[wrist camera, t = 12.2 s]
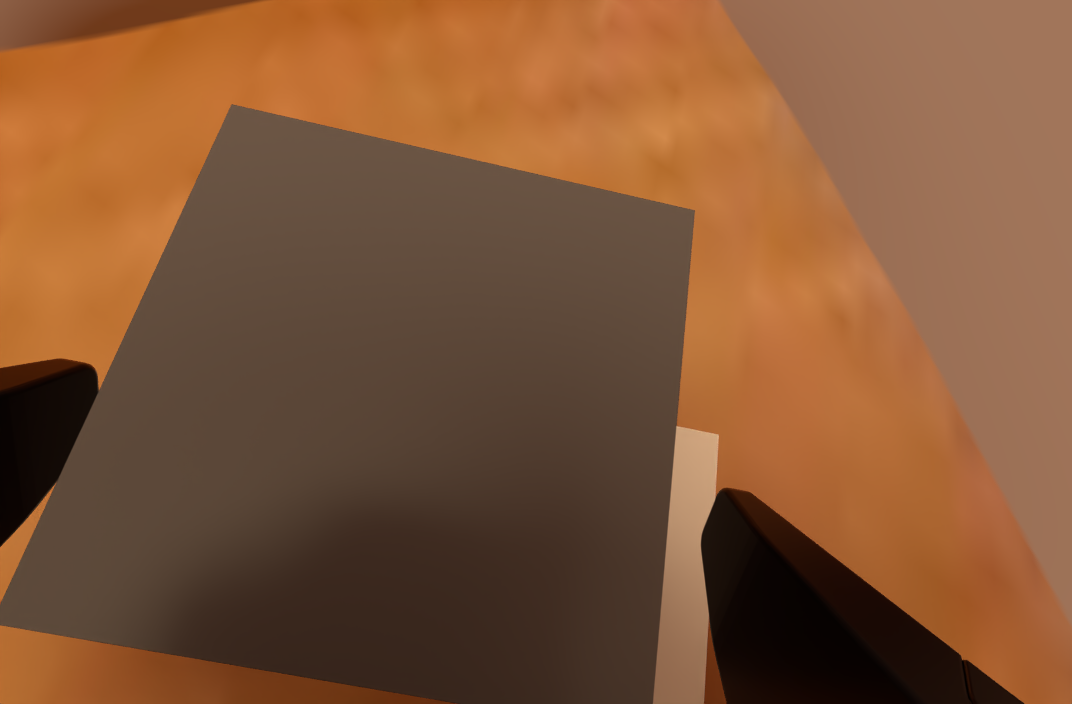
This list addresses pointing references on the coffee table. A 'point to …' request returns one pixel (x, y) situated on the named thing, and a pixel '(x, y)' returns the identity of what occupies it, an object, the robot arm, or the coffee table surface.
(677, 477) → the board
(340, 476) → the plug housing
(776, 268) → the coffee table surface
